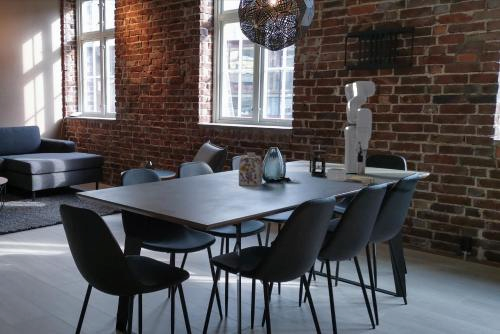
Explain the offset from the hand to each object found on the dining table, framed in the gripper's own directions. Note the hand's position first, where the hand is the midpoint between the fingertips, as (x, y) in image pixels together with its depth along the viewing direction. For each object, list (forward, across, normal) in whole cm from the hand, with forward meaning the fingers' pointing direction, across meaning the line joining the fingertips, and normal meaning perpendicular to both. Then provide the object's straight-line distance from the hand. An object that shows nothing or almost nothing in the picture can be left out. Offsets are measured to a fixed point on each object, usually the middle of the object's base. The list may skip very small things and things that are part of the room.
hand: (361, 161), depth 296 cm
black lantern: (+13, -6, -30) cm, 33 cm away
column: (+7, 0, 0) cm, 7 cm away
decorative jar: (+13, +43, -49) cm, 67 cm away
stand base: (+13, 0, -15) cm, 20 cm away
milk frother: (+13, +19, -42) cm, 48 cm away
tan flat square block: (+13, 0, 0) cm, 13 cm away
